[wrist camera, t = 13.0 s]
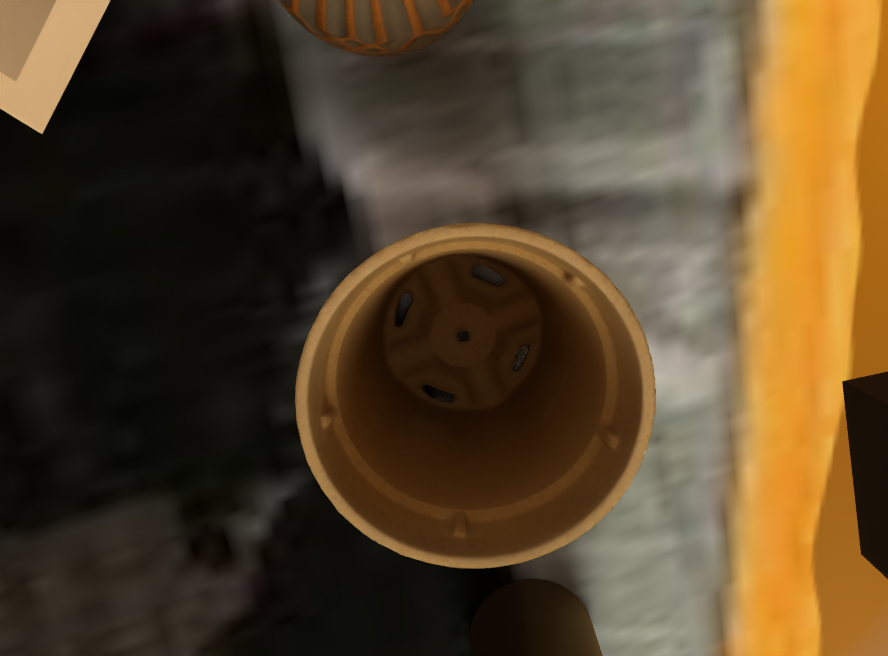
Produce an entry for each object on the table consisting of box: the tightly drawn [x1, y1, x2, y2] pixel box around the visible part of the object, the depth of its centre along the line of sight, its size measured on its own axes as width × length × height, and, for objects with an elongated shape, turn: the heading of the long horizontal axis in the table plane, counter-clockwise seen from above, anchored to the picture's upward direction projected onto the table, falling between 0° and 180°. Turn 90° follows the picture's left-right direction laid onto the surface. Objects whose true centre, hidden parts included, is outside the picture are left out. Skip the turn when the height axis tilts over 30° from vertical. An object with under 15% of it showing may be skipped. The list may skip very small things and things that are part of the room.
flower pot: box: [295, 223, 656, 568], centre depth 24 cm, size 9×9×9 cm
